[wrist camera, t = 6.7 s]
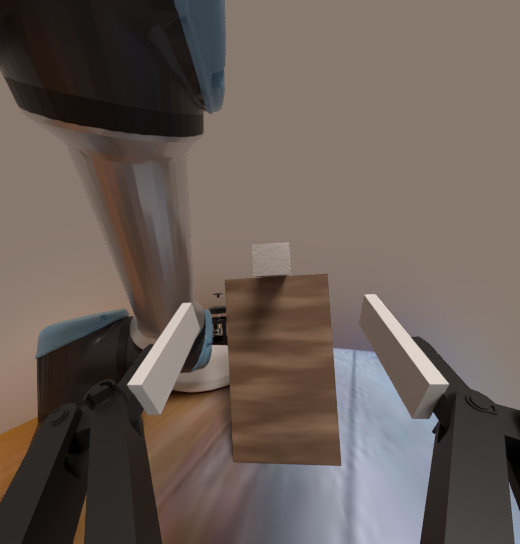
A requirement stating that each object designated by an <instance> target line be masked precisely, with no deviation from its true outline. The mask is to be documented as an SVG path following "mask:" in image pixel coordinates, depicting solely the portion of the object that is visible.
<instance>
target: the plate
mask: <svg viewBox="0 0 520 544" xmlns="http://www.w3.org/2000/svg"><path fill="white" fill-rule="evenodd" d="M227 385H230V379H229V359H228V346H226V345H212V353H211V358H210V361H209V363H208V365H207V366H206V367H205V368H203V369H199V370H195V371H193V372H191V373H181V374H179V376H178V378H177V380H176V382H175V384H174V387H173V389H172V390H175V391H183V392H201V391H209V390H214V389H217V388H221V387H224V386H227Z"/></svg>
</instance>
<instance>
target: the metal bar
mask: <svg viewBox="0 0 520 544" xmlns="http://www.w3.org/2000/svg"><path fill="white" fill-rule="evenodd" d="M252 255H253V273H254V276H255V277H263V278H264V277H281V276H288V275H290V274H291V267H290V252H289V242H285V243H271V244H258V245H252Z"/></svg>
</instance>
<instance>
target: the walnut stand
mask: <svg viewBox="0 0 520 544" xmlns="http://www.w3.org/2000/svg"><path fill="white" fill-rule="evenodd" d="M225 296H226V318H227V338H228V359H229V379H230V400H231V420H232V441H233V461H234V462H246V463H276V464H306V465H335V466H341V455H340V441H339V427H338V413H337V399H336V385H335V371H334V357H333V343H332V329H331V316H330V303H329V288H328V274H317V275H299V276H281V277H264V278H247V279H230V280H225Z"/></svg>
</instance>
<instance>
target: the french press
mask: <svg viewBox="0 0 520 544" xmlns="http://www.w3.org/2000/svg"><path fill="white" fill-rule="evenodd" d="M219 294H223V293H216V294H214V295H217V298H218V306H214V307H210V308H208V309H209V312H210V313H211V314H220V313H226V306H219ZM220 319H225V320H220ZM217 320H219V321H217ZM226 322H227V318H226V317H220V315H219V317H214V318H212V324H214V330H213V335H214V337H213V340H212V345H226V346H228V338H227V335H226V334H227V329H226ZM220 323H222V329H220ZM217 324H219V329H217ZM218 335H223V336H218Z"/></svg>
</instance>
